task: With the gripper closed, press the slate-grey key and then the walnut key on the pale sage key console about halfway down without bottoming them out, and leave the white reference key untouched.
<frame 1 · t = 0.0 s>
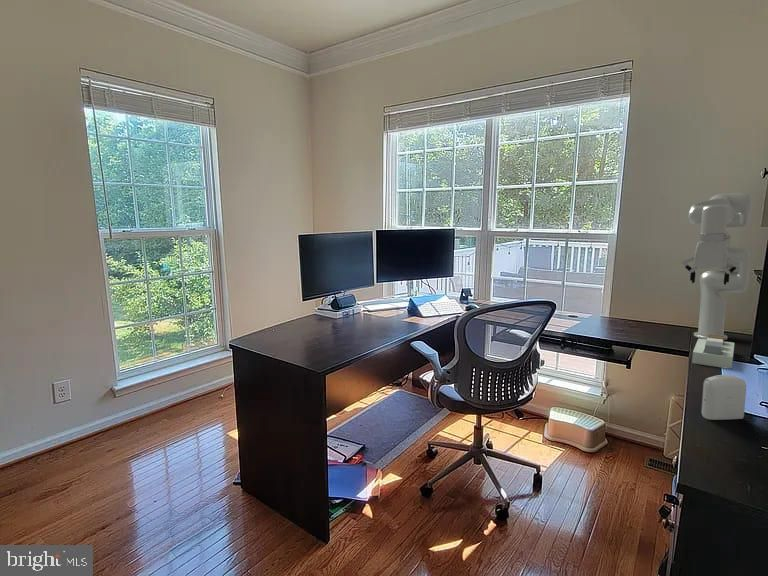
hand: (708, 283, 161), 31 cm above the table, fingers open, 9 cm apart
slate key: (713, 349, 163), point 6 cm above the table, slide at 0.0 cm
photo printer: (721, 418, 119), on the table
white key: (714, 344, 169), point 6 cm above the table, slide at 0.0 cm
key console: (713, 358, 169), on the table
walnut key: (715, 340, 175), point 6 cm above the table, slide at 0.0 cm
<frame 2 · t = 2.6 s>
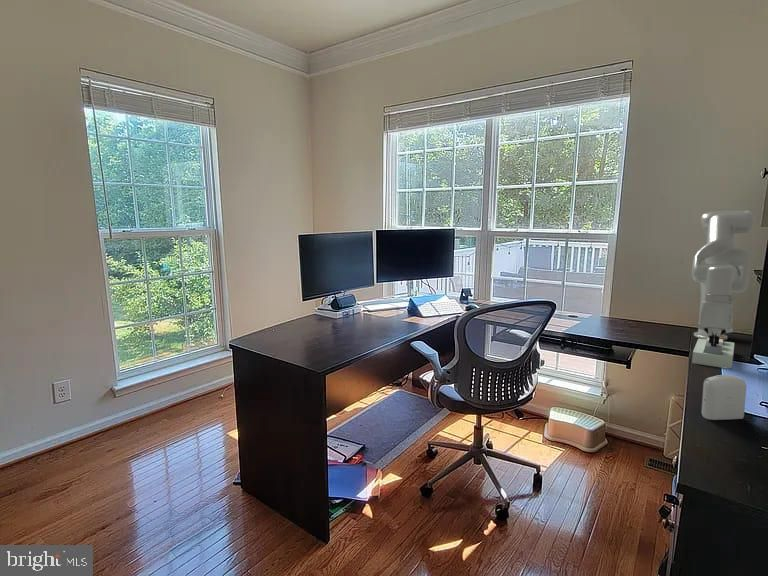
hand: (713, 345, 162), 7 cm above the table, fingers closed
slate key: (713, 350, 163), point 5 cm above the table, slide at 0.4 cm, touching gripper
everything else where it was.
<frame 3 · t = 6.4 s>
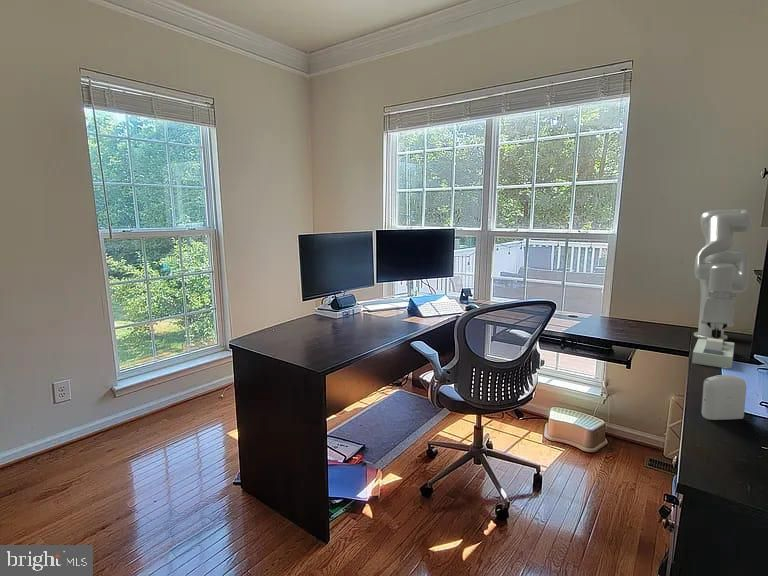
hand: (715, 338, 174), 6 cm above the table, fingers closed
slate key: (712, 353, 163), point 4 cm above the table, slide at 1.5 cm
walnut key: (715, 343, 175), point 4 cm above the table, slide at 1.3 cm, touching gripper
everything else where it was.
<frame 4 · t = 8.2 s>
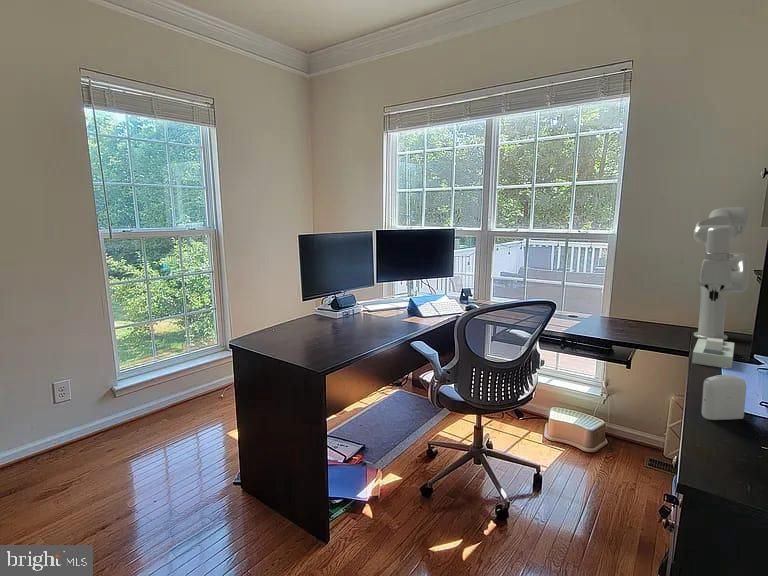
hand: (713, 300, 177), 22 cm above the table, fingers closed
walnut key: (715, 343, 175), point 4 cm above the table, slide at 1.6 cm
everything else where it was.
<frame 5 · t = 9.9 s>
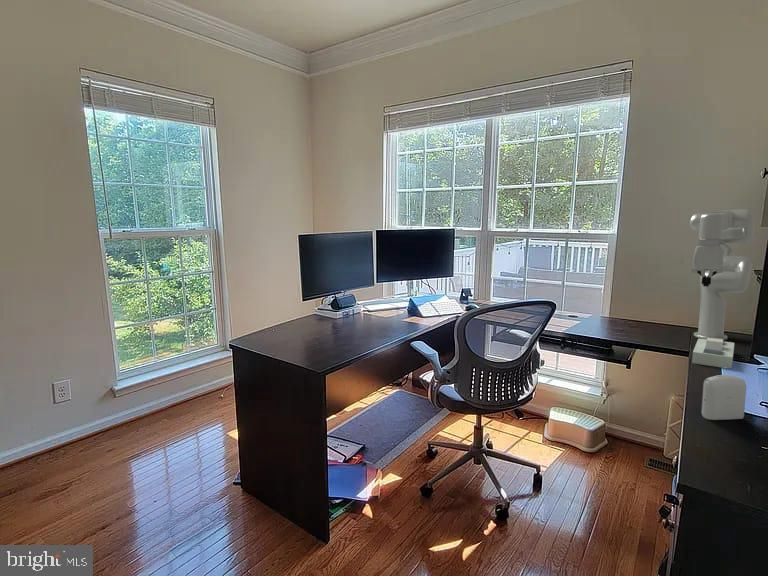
hand: (705, 286, 180), 27 cm above the table, fingers closed
nothing on the table moved.
at the end: slate key slide at 1.5 cm; walnut key slide at 1.6 cm; white key slide at 0.0 cm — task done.
